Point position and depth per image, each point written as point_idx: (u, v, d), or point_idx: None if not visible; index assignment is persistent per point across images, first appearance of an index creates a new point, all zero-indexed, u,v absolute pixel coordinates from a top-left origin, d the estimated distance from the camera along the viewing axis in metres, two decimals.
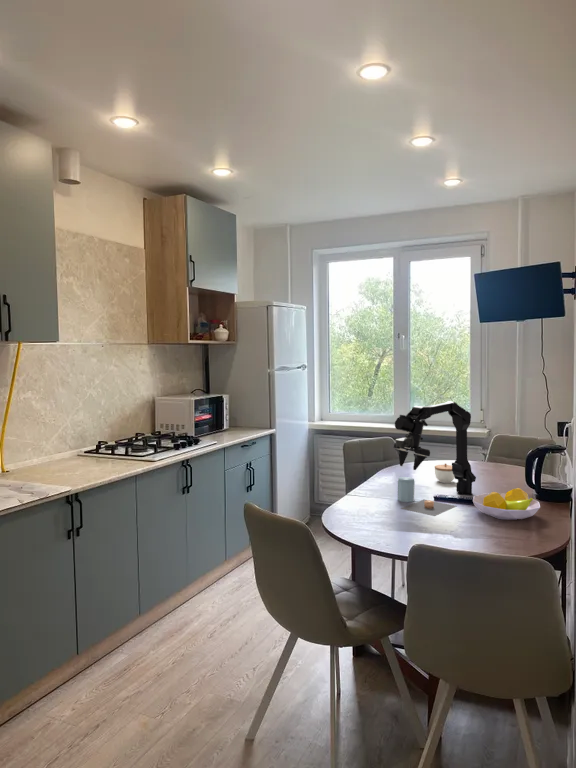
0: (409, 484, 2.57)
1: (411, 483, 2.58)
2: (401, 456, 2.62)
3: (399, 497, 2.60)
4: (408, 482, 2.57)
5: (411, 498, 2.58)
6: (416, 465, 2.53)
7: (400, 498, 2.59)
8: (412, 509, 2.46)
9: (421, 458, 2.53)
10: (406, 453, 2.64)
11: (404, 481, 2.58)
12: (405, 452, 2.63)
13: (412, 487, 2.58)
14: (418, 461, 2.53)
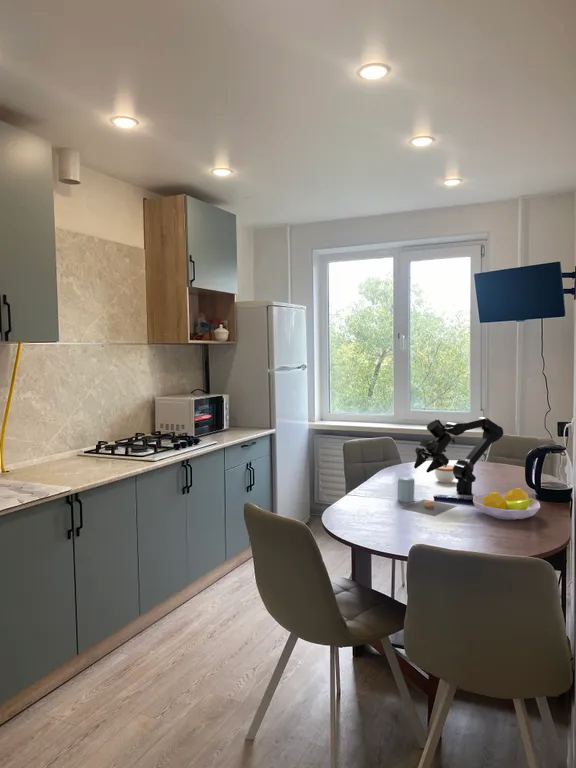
0: (409, 484, 2.57)
1: (411, 483, 2.58)
2: (418, 459, 2.69)
3: (399, 497, 2.60)
4: (408, 482, 2.57)
5: (411, 498, 2.58)
6: (430, 468, 2.59)
7: (400, 498, 2.59)
8: (412, 509, 2.46)
9: (438, 464, 2.60)
10: (424, 460, 2.70)
11: (404, 481, 2.58)
12: (423, 459, 2.70)
13: (412, 487, 2.58)
14: (434, 465, 2.59)
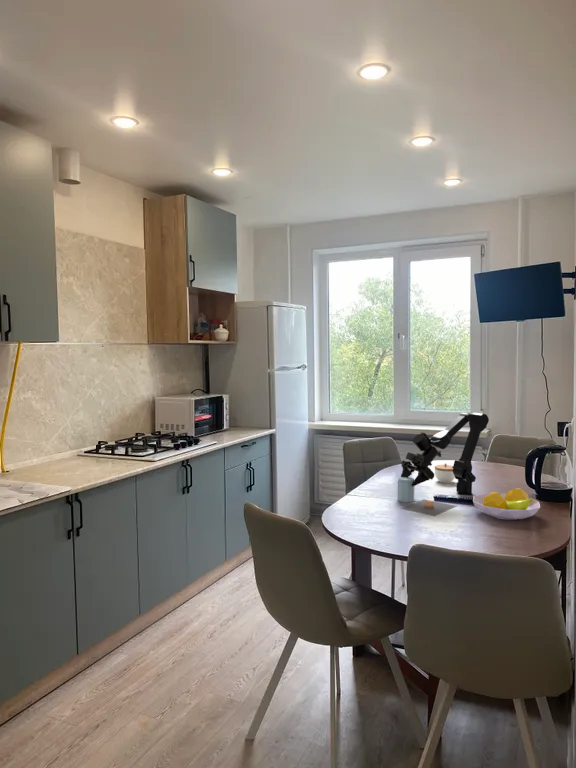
0: (409, 484, 2.57)
1: (411, 483, 2.58)
2: (404, 473, 2.66)
3: (399, 497, 2.60)
4: (408, 482, 2.57)
5: (411, 498, 2.58)
6: (416, 482, 2.56)
7: (400, 498, 2.59)
8: (412, 509, 2.46)
9: (423, 478, 2.57)
10: (409, 473, 2.67)
11: (404, 481, 2.58)
12: (409, 472, 2.67)
13: (412, 487, 2.58)
14: (419, 479, 2.57)
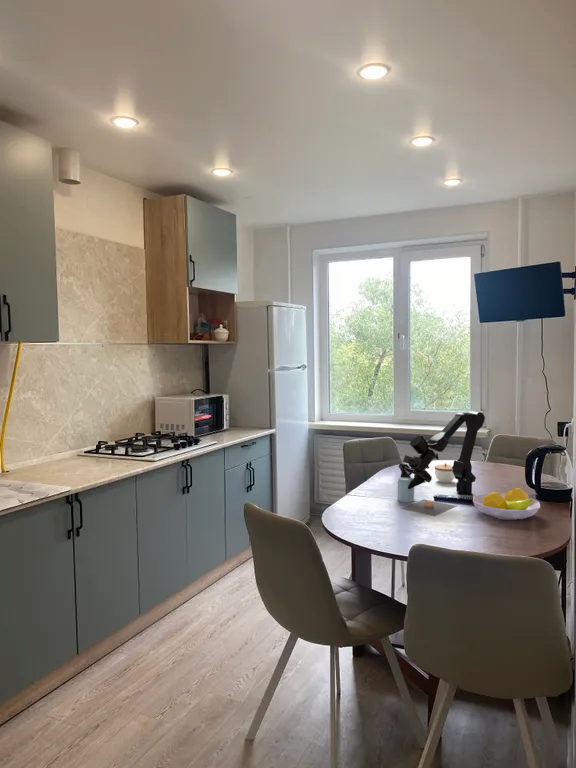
0: None
1: None
2: (403, 476, 2.65)
3: (399, 497, 2.60)
4: (408, 482, 2.57)
5: (411, 498, 2.58)
6: (412, 485, 2.57)
7: (400, 498, 2.59)
8: (412, 509, 2.46)
9: (419, 481, 2.57)
10: None
11: (404, 481, 2.58)
12: (408, 475, 2.66)
13: None
14: (415, 482, 2.57)
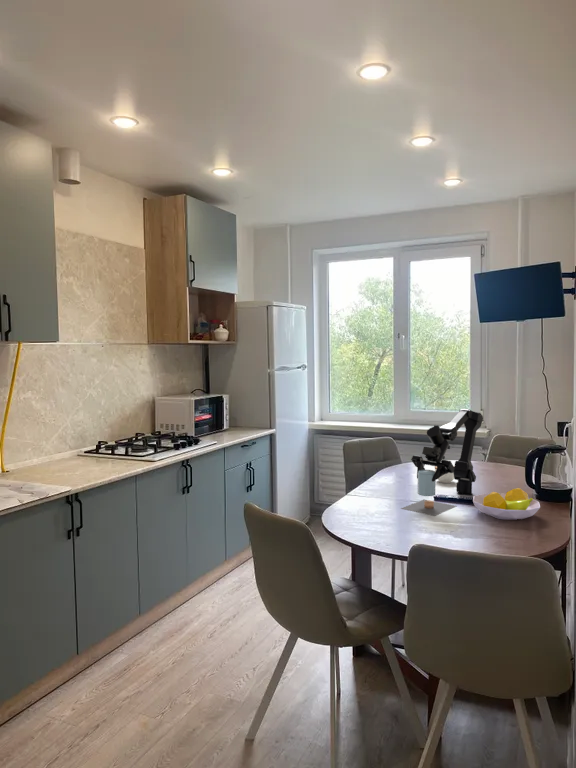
0: None
1: None
2: (420, 469, 2.53)
3: (422, 491, 2.47)
4: (432, 474, 2.46)
5: (434, 491, 2.48)
6: (436, 477, 2.46)
7: (423, 492, 2.47)
8: (412, 509, 2.46)
9: (441, 472, 2.48)
10: (423, 469, 2.55)
11: (428, 474, 2.46)
12: (423, 467, 2.55)
13: None
14: (438, 474, 2.47)
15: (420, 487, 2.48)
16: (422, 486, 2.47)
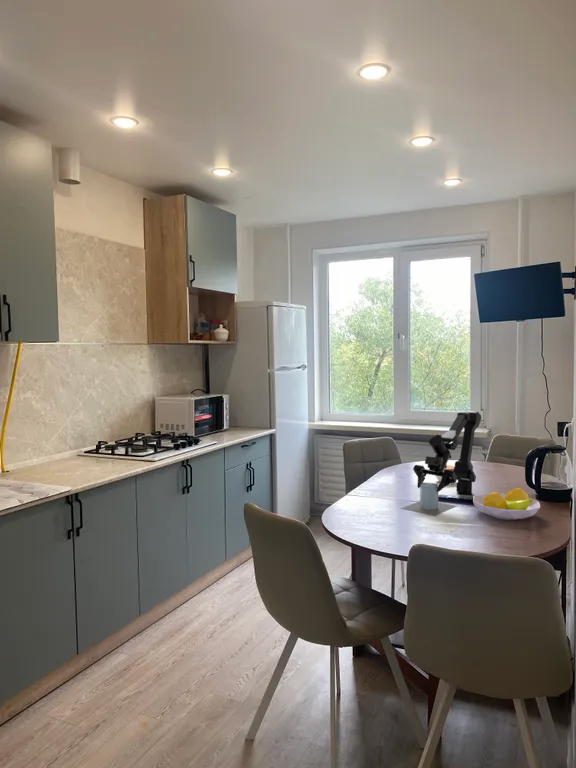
0: (436, 490, 2.46)
1: None
2: (420, 478, 2.53)
3: (425, 504, 2.47)
4: (435, 488, 2.46)
5: (437, 504, 2.47)
6: (441, 487, 2.45)
7: (426, 505, 2.46)
8: (412, 509, 2.46)
9: (446, 482, 2.47)
10: (423, 478, 2.55)
11: (431, 487, 2.45)
12: (423, 477, 2.55)
13: (437, 492, 2.47)
14: (443, 484, 2.46)
15: (423, 500, 2.47)
16: (425, 499, 2.46)
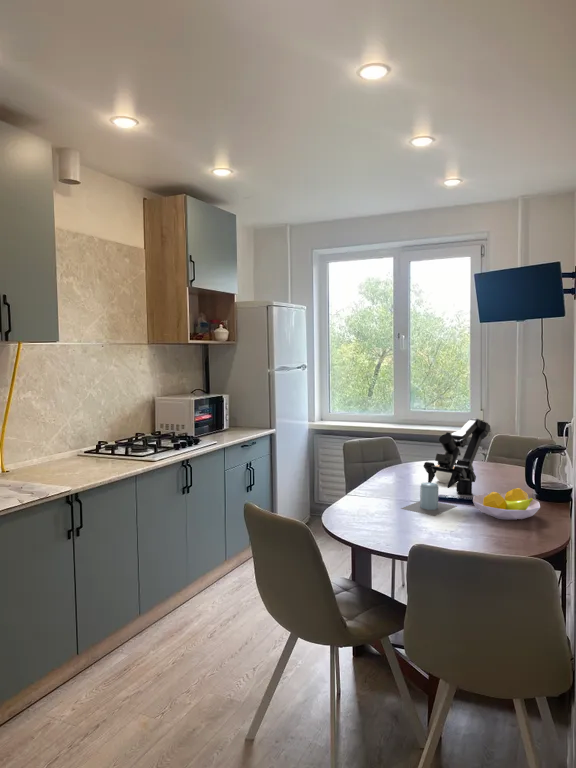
0: (436, 490, 2.46)
1: (437, 488, 2.47)
2: (431, 475, 2.59)
3: (425, 504, 2.47)
4: (435, 488, 2.46)
5: (437, 504, 2.47)
6: (451, 483, 2.52)
7: (426, 505, 2.46)
8: (412, 509, 2.46)
9: (456, 479, 2.54)
10: (434, 475, 2.62)
11: (431, 487, 2.45)
12: (433, 473, 2.62)
13: (437, 492, 2.47)
14: (453, 480, 2.53)
15: (423, 500, 2.47)
16: (425, 499, 2.46)
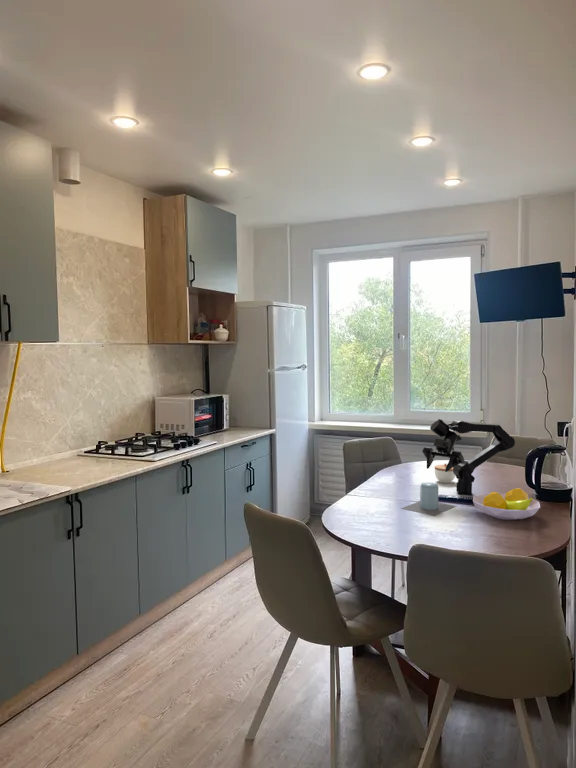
0: (436, 490, 2.46)
1: (437, 488, 2.47)
2: (429, 459, 2.68)
3: (425, 504, 2.47)
4: (435, 488, 2.46)
5: (437, 504, 2.47)
6: (449, 467, 2.60)
7: (426, 505, 2.46)
8: (412, 509, 2.46)
9: (454, 463, 2.62)
10: (432, 460, 2.70)
11: (431, 487, 2.45)
12: (432, 458, 2.70)
13: (437, 492, 2.47)
14: (451, 464, 2.61)
15: (423, 500, 2.47)
16: (425, 499, 2.46)
